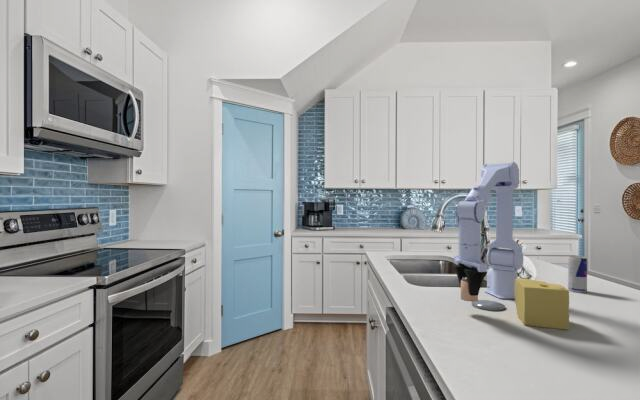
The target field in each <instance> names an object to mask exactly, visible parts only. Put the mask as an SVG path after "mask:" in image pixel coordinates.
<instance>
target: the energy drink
mask: <svg viewBox="0 0 640 400" xmlns="http://www.w3.org/2000/svg"><path fill="white" fill-rule="evenodd" d="M567 261H568V262H567V263H568V267H567V271H568V272H567V273H568V275H567V290H569V291H570V292H572V291H573V292H572V293H578V292H579V293H578V294H580V293H581V294H582V293H583V294H585V293H587V291H588V259H587V256H579V255H578V256H577V255H569V256H568V259H567Z"/></svg>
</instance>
